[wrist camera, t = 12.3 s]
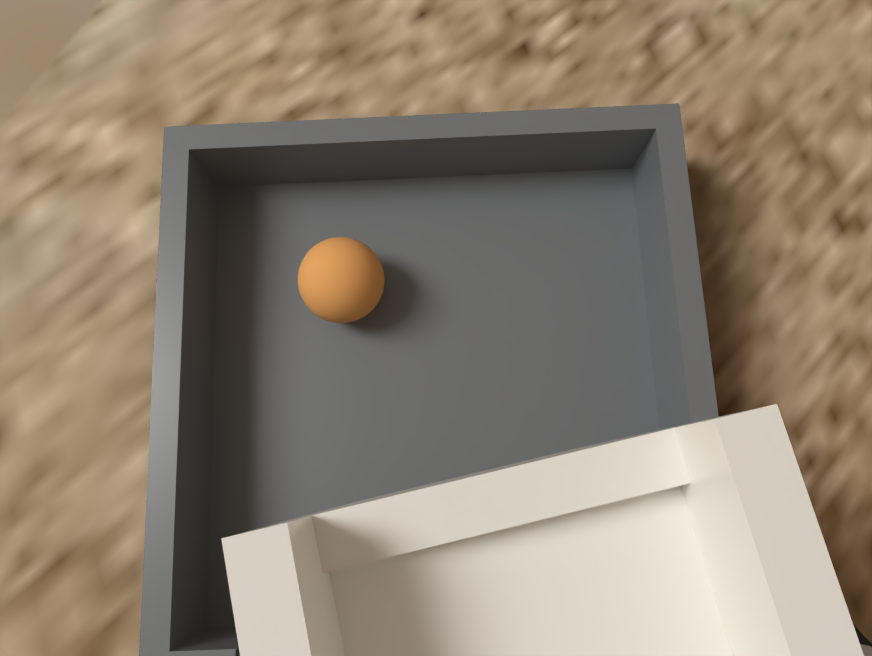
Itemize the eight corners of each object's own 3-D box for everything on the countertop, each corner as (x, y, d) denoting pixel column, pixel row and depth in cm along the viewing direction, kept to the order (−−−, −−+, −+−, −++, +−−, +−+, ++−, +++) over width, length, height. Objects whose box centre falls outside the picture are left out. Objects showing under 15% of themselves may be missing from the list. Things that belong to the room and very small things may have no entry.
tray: (188, 650, 27) (137, 685, 22) (204, 176, 31) (164, 126, 26) (699, 630, 26) (749, 661, 22) (645, 156, 31) (679, 103, 26)
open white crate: (639, 682, 15) (1007, 1071, 5) (409, 741, 15) (336, 1259, 5) (575, 448, 16) (776, 404, 6) (360, 500, 16) (221, 538, 6)
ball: (385, 227, 28) (360, 289, 30) (304, 213, 26) (283, 280, 28) (405, 280, 25) (376, 344, 27) (317, 268, 24) (294, 337, 26)
